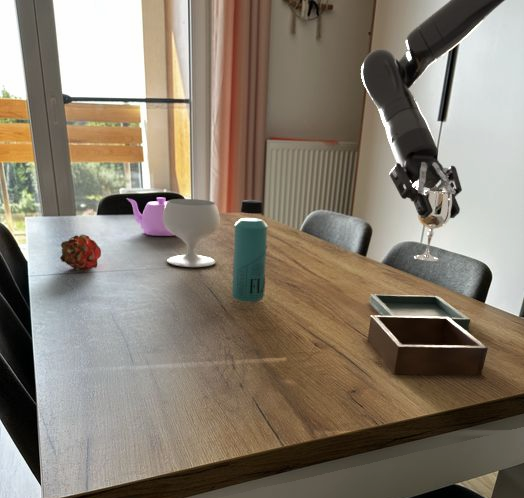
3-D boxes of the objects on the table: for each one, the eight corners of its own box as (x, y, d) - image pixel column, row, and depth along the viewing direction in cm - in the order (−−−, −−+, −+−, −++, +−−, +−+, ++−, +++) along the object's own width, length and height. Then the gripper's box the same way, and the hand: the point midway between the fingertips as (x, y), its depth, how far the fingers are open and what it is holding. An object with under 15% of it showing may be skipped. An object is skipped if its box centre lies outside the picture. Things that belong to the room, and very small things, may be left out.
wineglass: (408, 259, 95) (420, 192, 91) (412, 253, 100) (423, 189, 95) (440, 263, 93) (454, 195, 89) (442, 257, 98) (455, 192, 94)
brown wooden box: (443, 341, 89) (448, 316, 87) (481, 375, 77) (488, 347, 75) (367, 340, 88) (370, 315, 86) (393, 374, 75) (398, 346, 73)
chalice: (164, 269, 123) (163, 205, 117) (162, 256, 136) (161, 197, 130) (222, 269, 126) (224, 207, 120) (215, 256, 139) (216, 199, 133)
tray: (436, 305, 109) (438, 295, 108) (468, 330, 95) (470, 319, 95) (369, 303, 107) (370, 294, 106) (392, 328, 94) (394, 317, 93)
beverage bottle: (248, 311, 98) (253, 203, 90) (224, 303, 102) (227, 198, 94) (270, 305, 102) (277, 201, 95) (246, 297, 106) (251, 197, 99)
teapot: (128, 228, 169) (127, 193, 164) (190, 230, 172) (190, 196, 168) (126, 236, 157) (124, 199, 152) (192, 238, 160) (192, 201, 156)
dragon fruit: (74, 282, 114) (83, 276, 126) (105, 260, 114) (112, 256, 125) (48, 250, 112) (60, 247, 123) (79, 228, 111) (89, 226, 123)
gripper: (390, 123, 91) (421, 202, 86) (453, 128, 97) (485, 202, 92) (369, 153, 98) (396, 228, 93) (429, 156, 103) (458, 227, 98)
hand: (440, 215), depth 92 cm, fingers closed on wineglass, 5 cm apart
